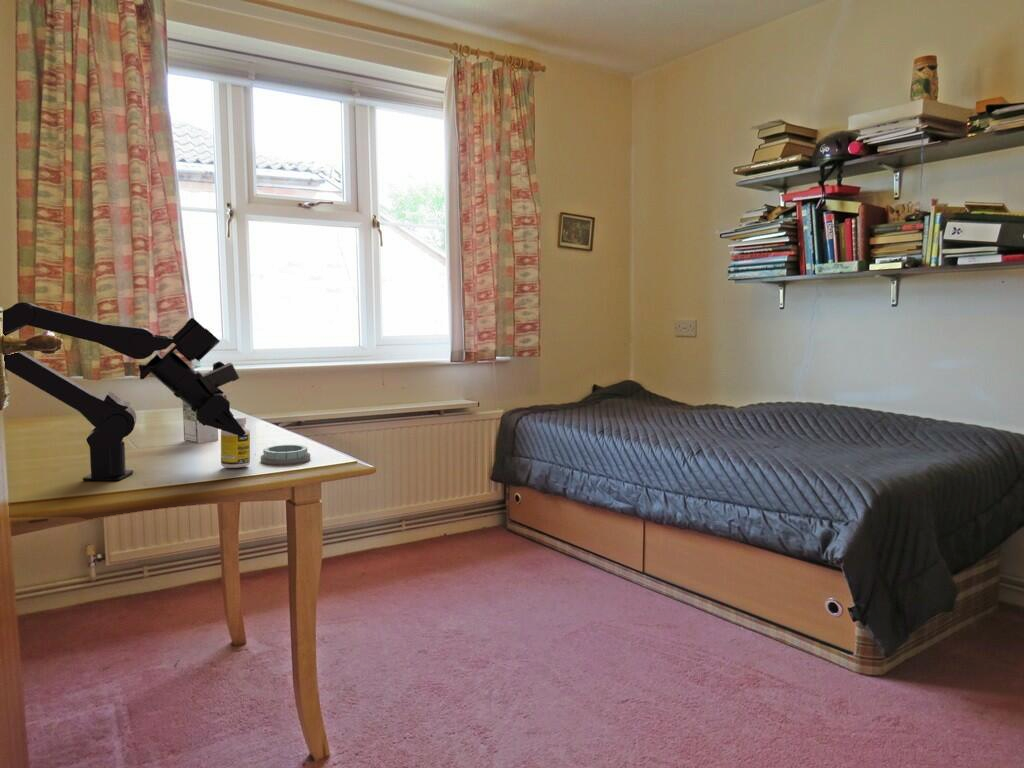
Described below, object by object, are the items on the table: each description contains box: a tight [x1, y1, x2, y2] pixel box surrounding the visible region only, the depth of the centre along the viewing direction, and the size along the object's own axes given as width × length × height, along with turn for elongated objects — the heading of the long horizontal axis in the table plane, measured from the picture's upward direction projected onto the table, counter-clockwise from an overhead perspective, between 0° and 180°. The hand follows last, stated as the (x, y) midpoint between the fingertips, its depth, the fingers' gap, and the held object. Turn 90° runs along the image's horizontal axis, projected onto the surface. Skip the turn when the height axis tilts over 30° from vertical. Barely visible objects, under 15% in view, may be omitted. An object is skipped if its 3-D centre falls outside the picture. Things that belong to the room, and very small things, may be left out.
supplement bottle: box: [220, 415, 251, 469], centre depth 143 cm, size 5×5×10 cm
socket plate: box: [260, 444, 311, 466], centre depth 151 cm, size 10×10×2 cm
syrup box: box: [182, 401, 219, 444], centre depth 170 cm, size 6×6×14 cm
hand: (242, 432), depth 143 cm, fingers closed on supplement bottle, 5 cm apart
